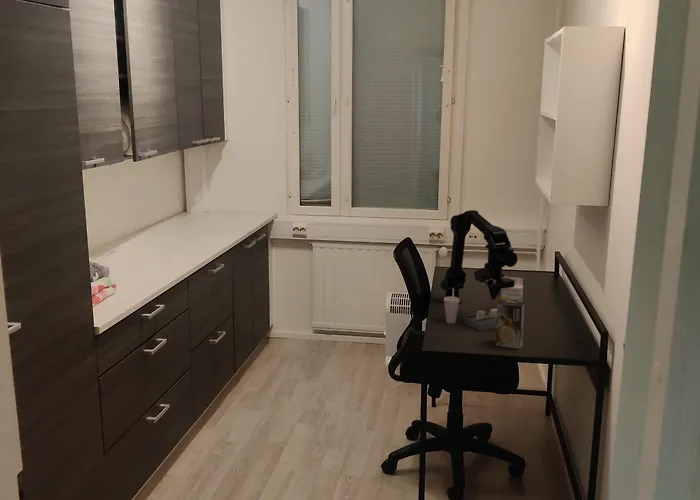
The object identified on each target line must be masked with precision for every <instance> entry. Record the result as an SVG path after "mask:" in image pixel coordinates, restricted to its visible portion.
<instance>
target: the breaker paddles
mask: <svg viewBox="0 0 700 500" xmlns="http://www.w3.org/2000/svg"><path fill="white" fill-rule="evenodd" d="M485 312H486V311H485V310H483V309H482V310H478V311H476V314H477V315H476V318H475V320H481V319H487V318H493V317H497V308H490V310H489V311H488V312H489V316H485ZM484 316H485V317H484Z"/></svg>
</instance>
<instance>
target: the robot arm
mask: <svg viewBox="0 0 700 500" xmlns="http://www.w3.org/2000/svg"><path fill="white" fill-rule="evenodd" d="M472 225H473V226H474V227H475V228H476V229H477V230H479V232H481V233H482V235H483V239H484V240H485V242H486V243H487V244H486V245H485V246H484V248H486V249H487V262H485V263H484V267H481V268H480V269H476V271H474V272H473V276H474V278H475V279H474V280H475V281H477V282H479V283H484V284H485V285H486V286H487V288H488V291H489V295H490V298H491V300H496V299H497V298H498V295H499V293H501V288H510V287H514V286H515V282H516V281H515V280H514V279H510V278H503V277H504V276H505V274H504V273H503V268H504V267H505V266H506V267H509V268H512V267H514V266H516V264H518V260H519V259H518V255H517V254H516V253H515V252H514V251H515V249H514V248H512V245H511V241H510V239H509V236H508V234H507V231H506V229H504V228H502V227H501V226H497V225H493V224H492V223H491V222H490V221H488V220H487V219H486V218H485V217H483V216H482V214H480V213H479V211H478V210H476V209H473V210H472V209H471V210H466V211H464V212H462V213H460V214H455V215H453V216H451V218H450V230H451V233H453V238H452V239H453V240H452V246H451V256H450V257H451V259H450V266H449V267H448V269H447V270H446V272H445V275H444V278H443V280H442V281H441V282H440V288H441V289H442V290H444V298H445V297H449V296H452V293H453V288H454V297H458V298H459V299H460V294H459V293H460V289H461V290H463V289H464V286H465V283H466V277H467V273H466V272H464V269H463V261H464V255H465V254H464V253H465V244H466V243H465V242H466V237H467V235H468V234H469V232H470V231H471V226H472ZM444 298H443V299H441V302H443V303H444ZM459 304H462V300H460V302H459Z"/></svg>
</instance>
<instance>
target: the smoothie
mask: <svg viewBox="0 0 700 500" xmlns="http://www.w3.org/2000/svg"><path fill="white" fill-rule="evenodd" d="M443 299H444V302H443V303H444V313H445V322H446V323H447V324H455V323H456V322H457V316H458V315H457V314H458V310H459V304H460V303H459V302H460V301H461V299H460V297H459V298H458V297H454V288H453V293H452V296H449V297H445V296H444V298H443Z"/></svg>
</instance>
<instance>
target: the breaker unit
mask: <svg viewBox="0 0 700 500" xmlns="http://www.w3.org/2000/svg"><path fill="white" fill-rule="evenodd" d="M489 312H490V311H487V312H486V311H485V316H489ZM476 315H477V313H473V314H467V315H465V316H464V324H466V325H468V326H469V327H471V328H473V329H474V330H477V331H479V332H482V331H487V330H488V331H489V330H493V329H496V321H497V317H493V318H487V319H481V320H475V318H476ZM485 316H484V317H485Z"/></svg>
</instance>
